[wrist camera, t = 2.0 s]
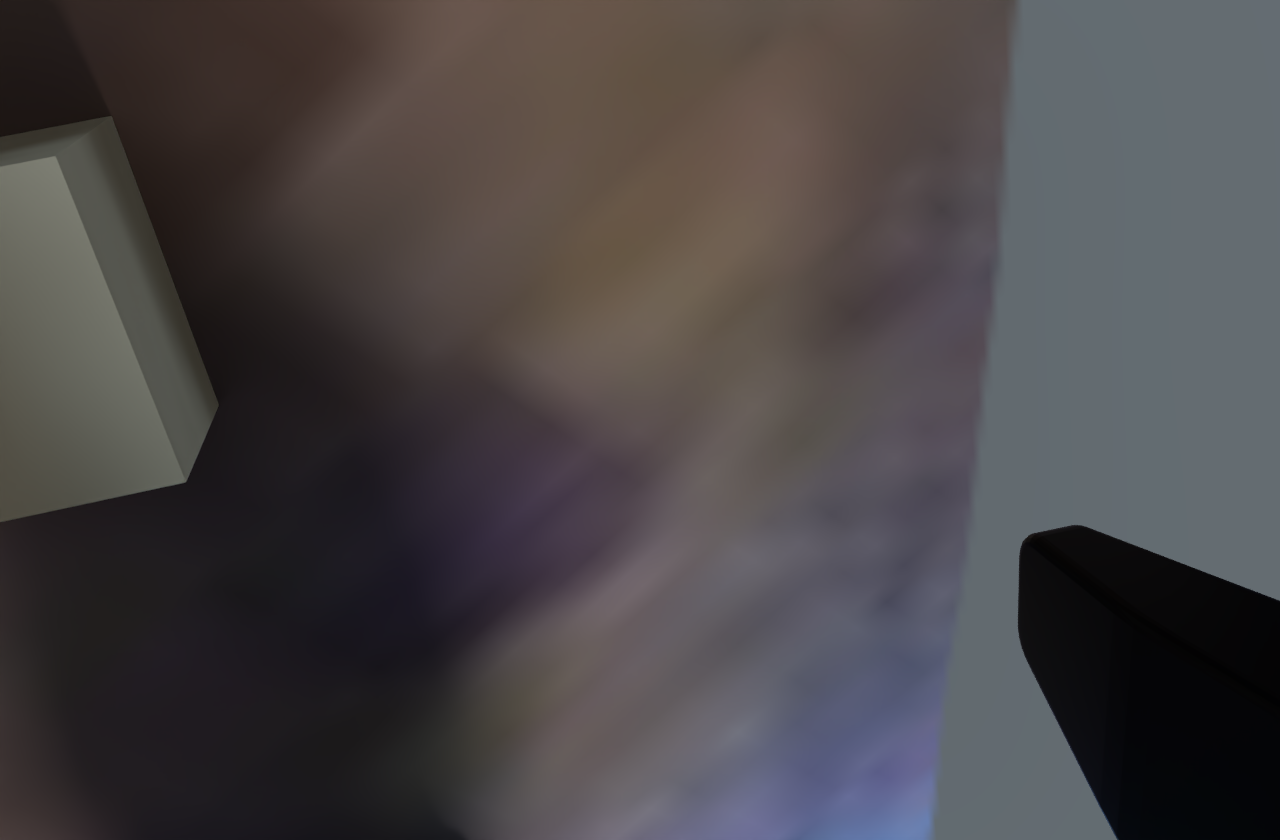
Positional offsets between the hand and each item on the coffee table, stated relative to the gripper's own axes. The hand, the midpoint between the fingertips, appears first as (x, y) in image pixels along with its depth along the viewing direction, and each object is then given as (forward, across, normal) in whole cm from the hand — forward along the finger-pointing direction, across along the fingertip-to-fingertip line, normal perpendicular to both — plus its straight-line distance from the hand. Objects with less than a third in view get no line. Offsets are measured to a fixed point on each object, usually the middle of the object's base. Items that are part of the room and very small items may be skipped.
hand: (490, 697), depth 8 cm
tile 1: (+12, +7, 0) cm, 14 cm away
